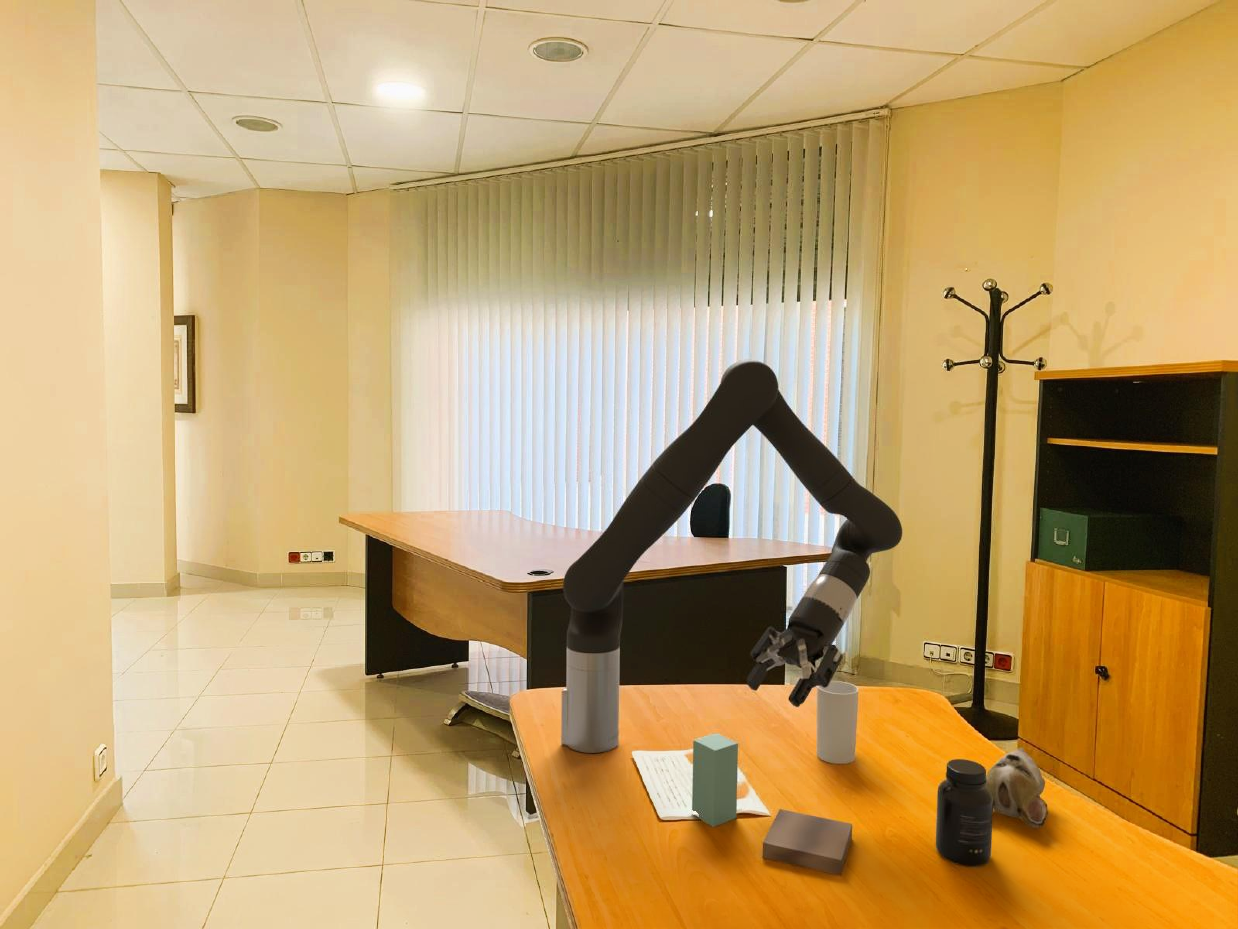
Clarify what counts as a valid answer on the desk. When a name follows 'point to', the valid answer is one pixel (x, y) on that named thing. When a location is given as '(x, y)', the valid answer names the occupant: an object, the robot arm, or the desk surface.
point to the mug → (837, 722)
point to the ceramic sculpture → (1018, 788)
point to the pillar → (715, 779)
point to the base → (808, 841)
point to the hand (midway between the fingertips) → (771, 695)
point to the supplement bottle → (964, 814)
